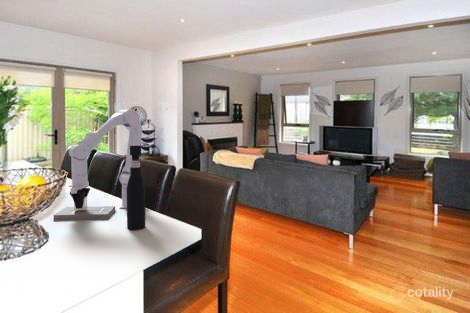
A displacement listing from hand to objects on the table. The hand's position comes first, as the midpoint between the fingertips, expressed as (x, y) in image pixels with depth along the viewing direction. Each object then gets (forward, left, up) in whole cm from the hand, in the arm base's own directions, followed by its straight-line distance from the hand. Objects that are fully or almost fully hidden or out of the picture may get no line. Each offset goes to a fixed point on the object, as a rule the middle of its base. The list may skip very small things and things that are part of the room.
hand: (80, 207), depth 125 cm
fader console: (-2, 0, -3) cm, 4 cm away
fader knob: (0, 0, -1) cm, 1 cm away
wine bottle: (-25, +17, -4) cm, 31 cm away
